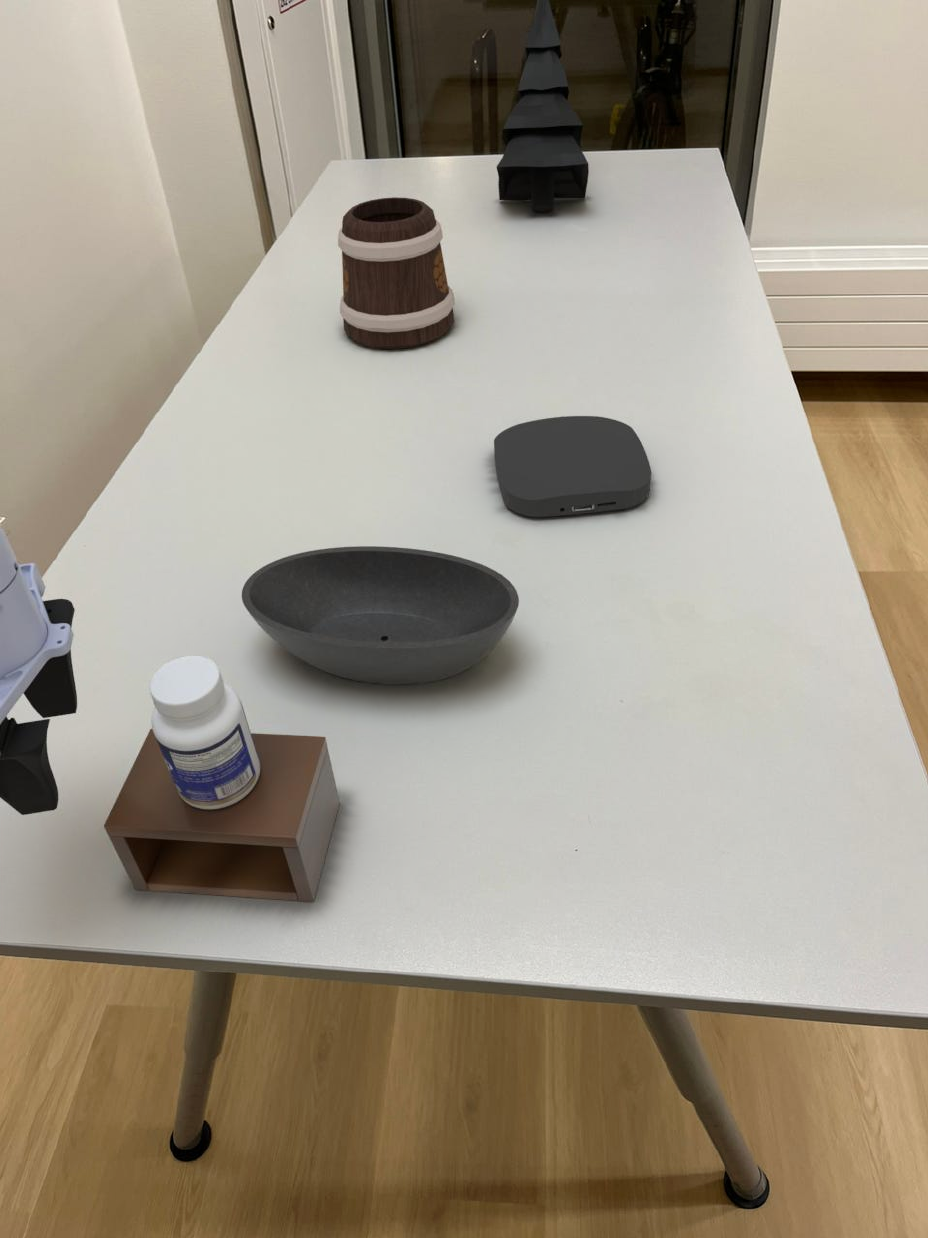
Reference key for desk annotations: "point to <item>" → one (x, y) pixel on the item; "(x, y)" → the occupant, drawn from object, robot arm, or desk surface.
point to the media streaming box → (571, 466)
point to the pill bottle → (203, 733)
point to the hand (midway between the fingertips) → (50, 757)
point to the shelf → (230, 826)
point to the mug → (394, 274)
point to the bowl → (382, 611)
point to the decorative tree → (542, 127)
